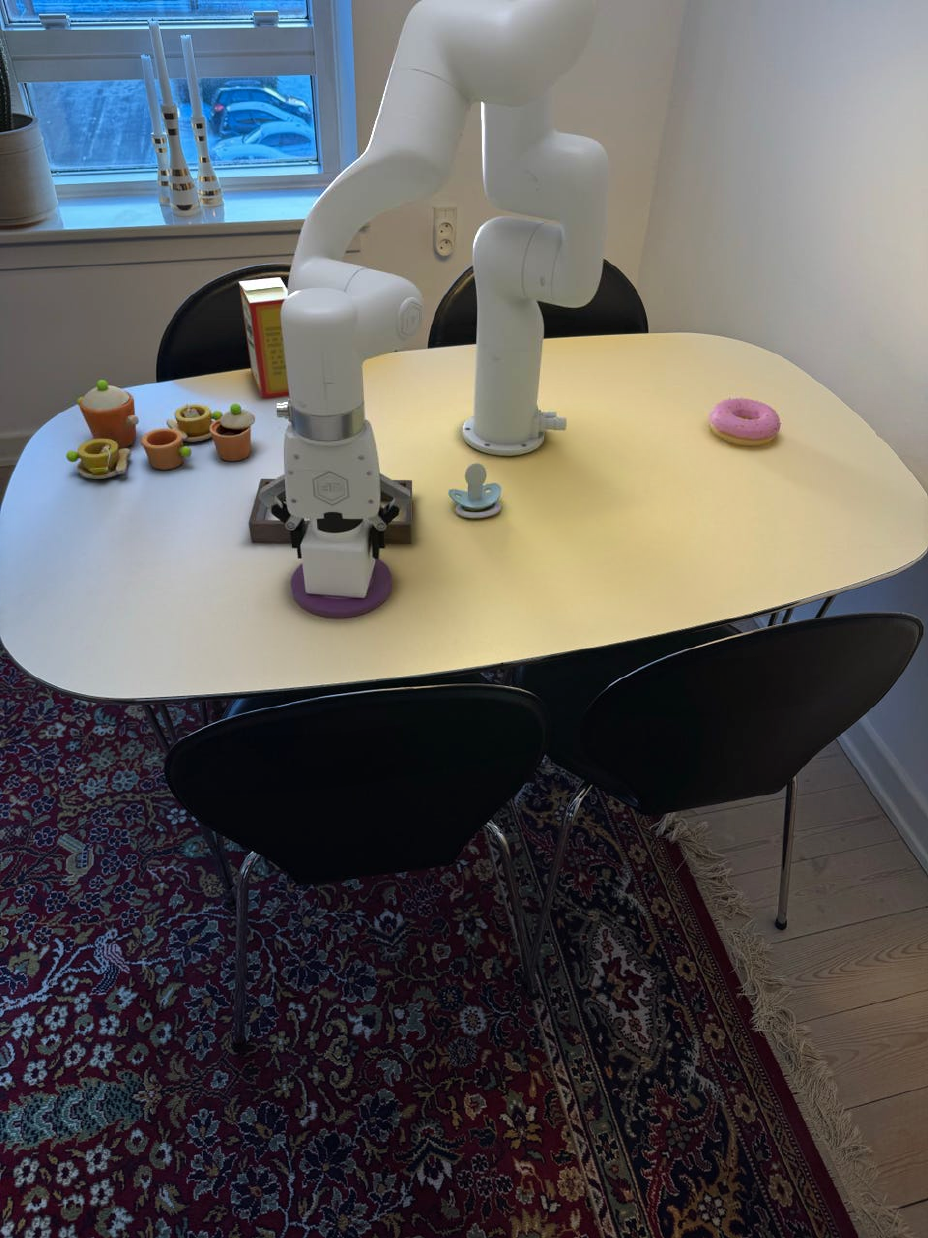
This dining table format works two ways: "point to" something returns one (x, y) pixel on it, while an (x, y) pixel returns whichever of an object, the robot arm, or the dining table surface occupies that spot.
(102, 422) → the toy tea set
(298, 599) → the lid
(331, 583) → the medicine bottle
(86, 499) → the dining table surface
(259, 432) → the dining table surface
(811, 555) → the dining table surface
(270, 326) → the baking soda box
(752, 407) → the doughnut
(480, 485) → the pacifier
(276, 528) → the frame
